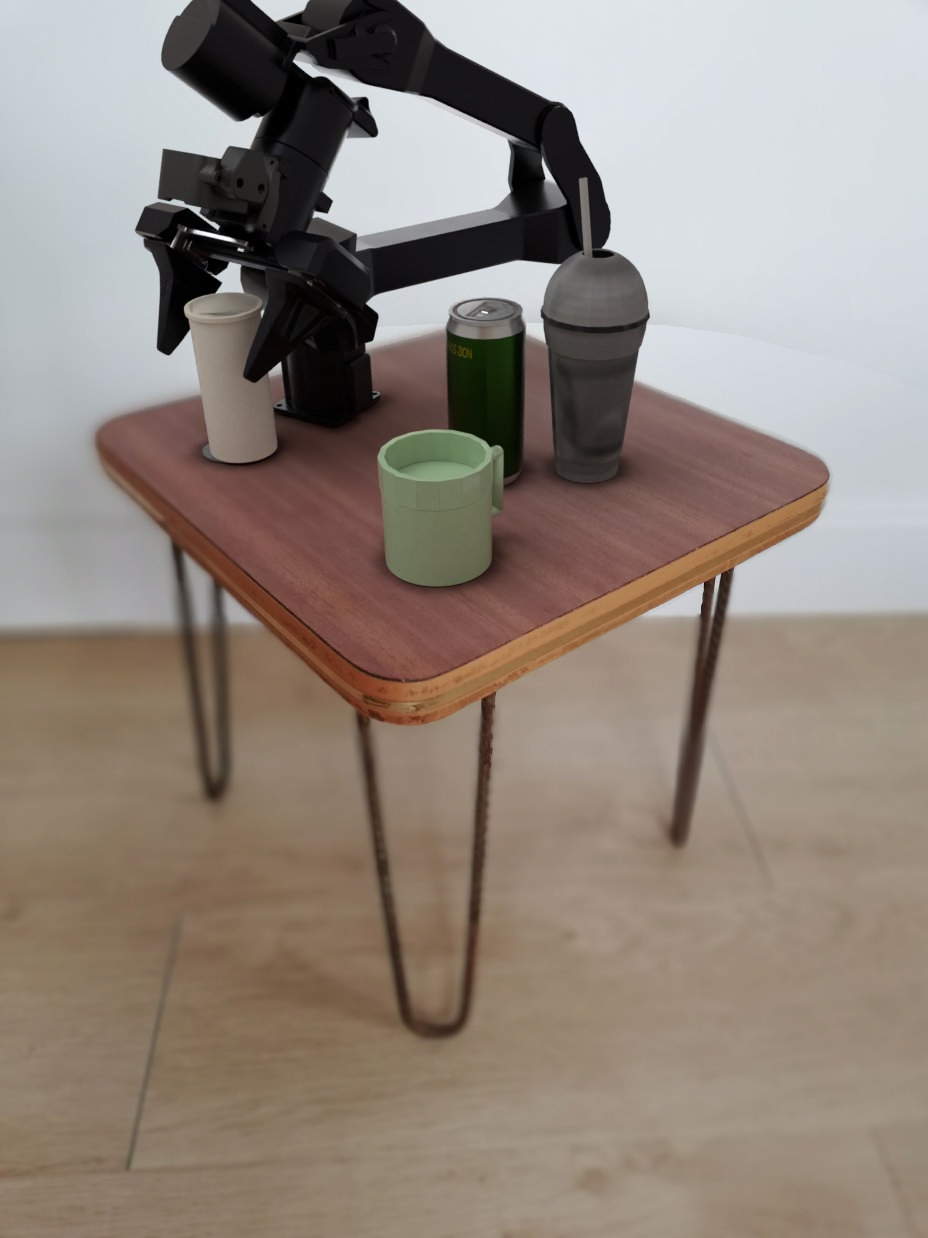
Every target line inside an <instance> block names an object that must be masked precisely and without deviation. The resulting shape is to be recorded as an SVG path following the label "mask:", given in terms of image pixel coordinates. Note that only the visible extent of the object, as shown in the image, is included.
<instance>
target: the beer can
mask: <svg viewBox="0 0 928 1238" xmlns="http://www.w3.org/2000/svg"><path fill="white" fill-rule="evenodd" d="M447 313H448V318H447V320H446V323H445V325H444V331H445V367H446V369H445V370H446V374H445V375H446V402H447V403H446V405H447V407H446V409H447V411H446V412H447V430H455V431H459V432H464V433H468V434H472V435H474V436H476V437H478V438H480V439H482V440H484V441H486V442H487V444H488V445H489V447H492V446H494V445H498V446H500V447H502V449H503V452H504V464H503V487H505V486H508V485H509V484H511V483H513V482H515V481H516V480H517V479H518V478H519V477H520V474H521V472H522V470H523V467H524V463H525V461H524V460H525V418H526V417H525V416H526V415H525V412H526V357H527V356H526V355H527V353H526V352H527V351H526V350H527V322H526V321H525V318H524V316H523V314H524V309H523V306H522V305H521V304H519V303H518V302H517V301H513V300H510V299H507V298H501V297H491V296H489V297H488V296H487V297H486V296H483V297H471V298H466V299H463V300H460V301H456V302H454V303H453V304H451V305H450V306H449V308H448V312H447Z"/></svg>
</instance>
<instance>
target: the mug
mask: <svg viewBox="0 0 928 1238" xmlns="http://www.w3.org/2000/svg"><path fill="white" fill-rule="evenodd" d="M503 464H504V452H503V449H502V447H500V446H498V445H494V446H492V447H489V445H488V444H487V442H486V441H484V440H482V439H480V438H478V437H476V436H474V435H472V434H468V433H464V432H459V431H455V430H448V429H424V430H418V431H410V432H408V433H405V434H402V435H399V436H396V437H393V438H392V439H390V440H389V441H388V442H386V443H385V444H383V445H382V446H381V447H380V449H379V451H378V454H377V473H378V487H379V489H380V501H381V502H380V503H381V516H382V530H383V545H384V559H385V560H384V561H385V566H386V567H387V569H388V571H390V573H391V574H393V575H394V576H395V577H396V578H398V579H399V580H402V581H404V582H406V583H409V584H412V585H416V586H423V587H433V588H435V587H437V588H438V587H441V588H442V587H451V586H456V585H460V584H464V583H468V582H469V581H470V582H471V581H472V580H474V579H476V578H478V577H480V576H481V575H483V574H484V573H485V572H486V571H487V570H488V569H489V567H490V565H491V564H492V560H493V518H496V517H498V516H500V515H501V514H503V511H504V486H503Z"/></svg>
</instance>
